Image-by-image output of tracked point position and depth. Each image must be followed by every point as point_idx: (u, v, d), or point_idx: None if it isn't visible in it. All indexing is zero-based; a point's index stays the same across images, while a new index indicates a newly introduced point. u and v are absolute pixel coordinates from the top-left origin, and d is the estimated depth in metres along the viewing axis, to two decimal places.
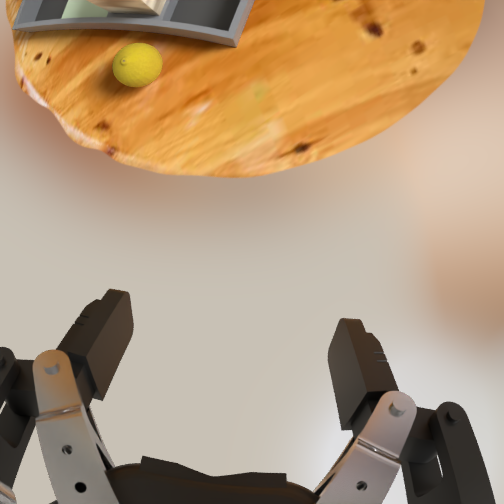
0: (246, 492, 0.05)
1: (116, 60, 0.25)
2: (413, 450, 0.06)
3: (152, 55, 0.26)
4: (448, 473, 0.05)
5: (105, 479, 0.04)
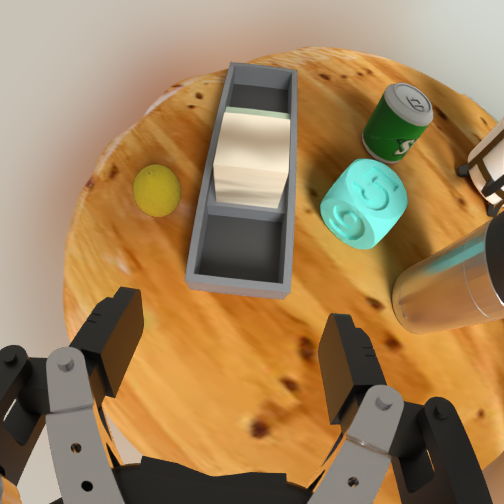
0: (246, 492, 0.05)
1: (153, 166, 0.30)
2: (401, 445, 0.07)
3: (160, 202, 0.31)
4: (440, 469, 0.05)
5: (113, 479, 0.04)
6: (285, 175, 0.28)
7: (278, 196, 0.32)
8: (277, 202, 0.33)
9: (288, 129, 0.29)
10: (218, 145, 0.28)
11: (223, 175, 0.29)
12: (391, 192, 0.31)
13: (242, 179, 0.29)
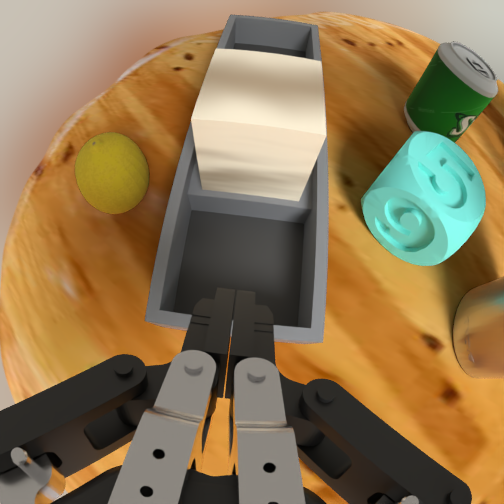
0: None
1: (103, 134, 0.18)
2: None
3: (110, 189, 0.18)
4: (355, 455, 0.06)
5: (177, 498, 0.04)
6: (320, 140, 0.15)
7: (303, 180, 0.19)
8: (300, 191, 0.20)
9: (319, 72, 0.16)
10: (202, 90, 0.15)
11: (209, 141, 0.16)
12: (468, 182, 0.18)
13: (244, 146, 0.16)
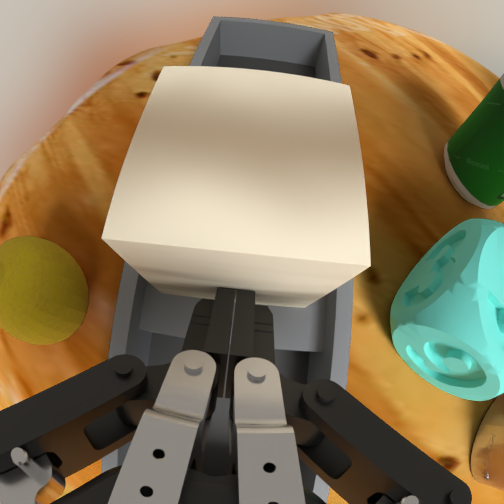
0: None
1: (7, 250, 0.10)
2: None
3: (29, 334, 0.10)
4: (355, 455, 0.06)
5: (177, 498, 0.04)
6: (356, 269, 0.08)
7: (315, 297, 0.12)
8: (308, 303, 0.13)
9: (350, 109, 0.09)
10: (127, 163, 0.08)
11: (149, 261, 0.09)
12: None
13: (211, 270, 0.09)
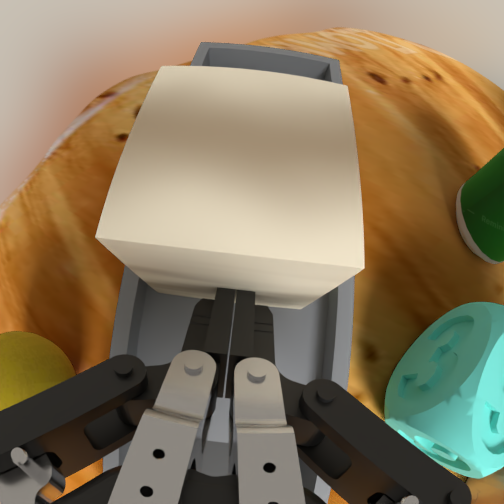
0: None
1: None
2: None
3: None
4: (355, 455, 0.06)
5: (177, 498, 0.04)
6: (350, 272, 0.08)
7: (310, 299, 0.12)
8: (304, 304, 0.13)
9: (347, 110, 0.09)
10: (122, 162, 0.08)
11: (142, 261, 0.09)
12: None
13: (205, 271, 0.09)
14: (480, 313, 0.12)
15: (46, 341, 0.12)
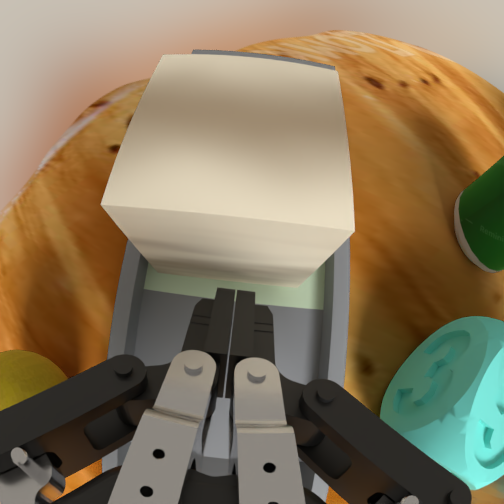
0: None
1: None
2: None
3: None
4: (355, 455, 0.06)
5: (177, 498, 0.04)
6: (342, 236, 0.08)
7: (306, 273, 0.12)
8: (300, 280, 0.14)
9: (337, 92, 0.10)
10: (127, 138, 0.08)
11: (145, 231, 0.09)
12: None
13: (204, 240, 0.10)
14: (477, 329, 0.12)
15: (43, 360, 0.12)
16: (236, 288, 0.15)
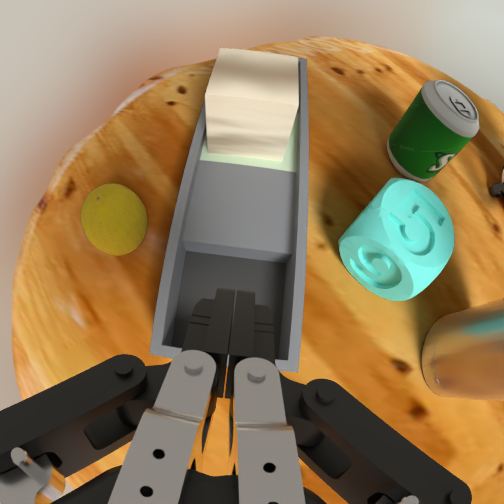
0: None
1: (106, 188, 0.20)
2: None
3: (115, 239, 0.21)
4: (355, 455, 0.06)
5: (177, 498, 0.04)
6: (294, 109, 0.21)
7: (284, 142, 0.25)
8: (282, 152, 0.26)
9: (296, 65, 0.22)
10: (212, 76, 0.21)
11: (216, 111, 0.22)
12: (437, 228, 0.21)
13: (241, 115, 0.22)
14: None
15: None
16: (249, 160, 0.27)
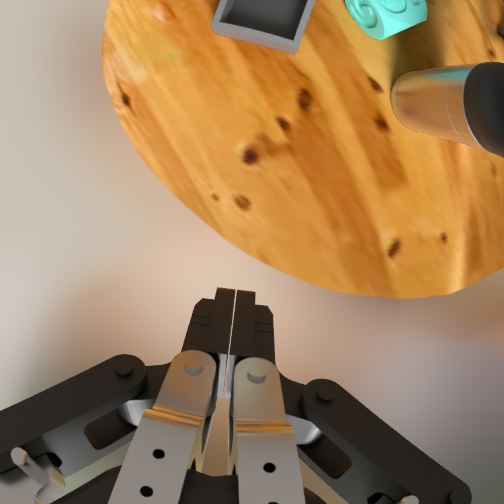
0: None
1: None
2: None
3: None
4: (355, 454, 0.06)
5: (177, 498, 0.04)
6: None
7: None
8: None
9: None
10: None
11: None
12: (411, 5, 0.22)
13: None
14: None
15: None
16: None
